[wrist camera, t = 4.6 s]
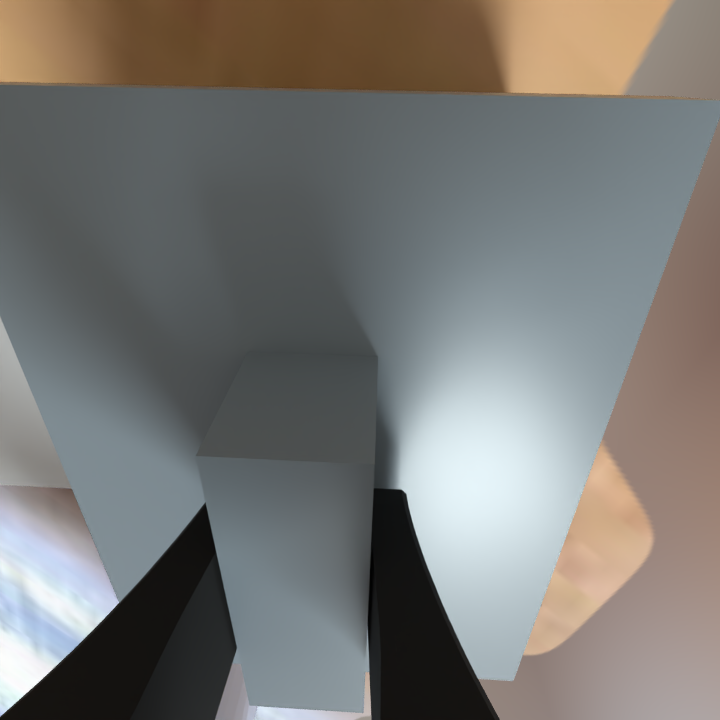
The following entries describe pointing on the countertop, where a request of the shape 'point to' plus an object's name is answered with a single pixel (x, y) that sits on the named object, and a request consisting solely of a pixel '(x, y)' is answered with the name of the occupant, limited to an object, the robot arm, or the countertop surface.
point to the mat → (23, 430)
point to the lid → (336, 335)
